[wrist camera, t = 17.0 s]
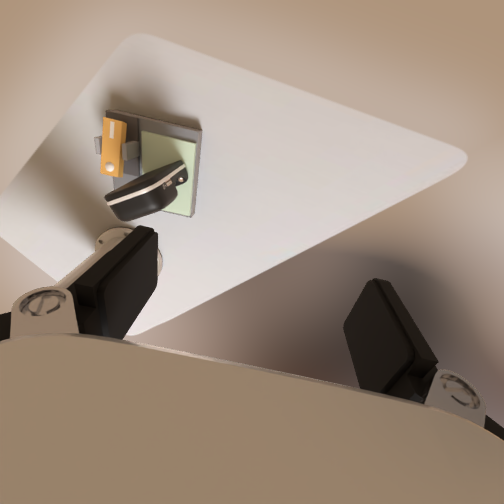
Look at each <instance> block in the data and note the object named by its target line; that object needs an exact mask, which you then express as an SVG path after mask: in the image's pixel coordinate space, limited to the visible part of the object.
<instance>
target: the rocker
mask: <svg viewBox="0 0 504 504" xmlns="http://www.w3.org/2000/svg"><path fill="white" fill-rule="evenodd" d="M126 128H127V123H125V122H122V121H118V120H114V119H110V118H106V117H103V134H102V153H101V172H100V173H101V174H106V175H110V176H114V177H123V167H124V160H123V155H122V144H123V143H125V141H126Z"/></svg>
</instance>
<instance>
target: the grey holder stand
mask: <svg viewBox="0 0 504 504" xmlns="http://www.w3.org/2000/svg"><path fill="white" fill-rule="evenodd" d="M106 118H110V119H114V120H118V121H122V122H125V123H127V128H126V141H125V143H123V144H122V155H123V160H124V167H123V177H114V176H113V181H114V190H115V189H117V188H119V187H121V186H123V185H125V184H126V183H128V182H130V181H132V180H134V179H136V178H138V177H139V176H141V175H143V174H145V173H147V172H150V171H152V170H155V169H158V168H160V167H163V166H165V165H168V164H171V163H173V162H176V161H179V160H182V161H183V163H184V164H185V166H186V167H185V168H186V170H187V173H188V180H187V182H185V183H184V184H181V185H179V186H176V189H177V191H178V196H177V197H176V199H175V200H174V201H173V202H172V203H171V204H169V205H168V206H167V207H165V208H164V209H162V210H160V211H163V212H168V213H172V214H177V215H181V216H186V217H190V218H191V217H192V216H193V215H194V213H195V204H196V193H197V183H198V172H199V161H200V150H201V140H202V130H198V129H194V128H190V127H186V126H181V125H177V124H173V123H169V122H165V121H160V120H156V119H152V118H148V117H144V116H139V115H135V114H131V113H127V112H123V111H118V110H107V111H106ZM94 141H95V149H96V154H100V155H101V153H102V136H99V137H94Z"/></svg>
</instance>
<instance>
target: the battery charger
mask: <svg viewBox="0 0 504 504" xmlns="http://www.w3.org/2000/svg"><path fill="white" fill-rule="evenodd" d="M185 167H186V166H185V164H184V163H183V161H182V160H179V161H176V162H173V163H171V164H168V165H165V166H163V167H160V168H158V169H155V170H152V171H150V172H147V173H145V174H143V175H141V176H139V177H138V178H136V179H134V180H132V181H130V182H128V183H126V184H125V185H123V186H121V187H119V188H117V189H115V190H114V191H112V192H110V193H108V194H107V195H105V200H106V201H107V202H106V203H107V204H108V206H110V207H111V209H112V210H113V212H114V214H115V215H116V216H117V218H118V219H120V220H121V221H131V220H134V219H137V218H140V217H143V216H146V215H149V214H152V213H155V212H158V211H160V210H162V209H164V208H165V207H167V206H168V205H169V204H171V203H172V202H173V201H174V200H175V199H176V197H177V196H178V191H177V189H176V186H179V185H181V184H184V183H185V182H187V180H188V173H187V170H186V168H185Z"/></svg>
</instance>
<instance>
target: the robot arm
mask: <svg viewBox="0 0 504 504" xmlns="http://www.w3.org/2000/svg"><path fill="white" fill-rule="evenodd" d="M161 270H162V258H161V255H160V252H159V250H158V233H157V232H154V229H153V228H150V227H145V226H141V225H139V226H137V227H136V228H135V229H134V230H132V229H128V228H121V227H119V228H112V229H109V230H107V231H106V232H104V233H103V234H102V235H100V236H99V237H98V239H97V241H96V243H95V252H94V253H93V254H92V255H91V256H89V257H88V258H87V259H86V260H84V261H83V262H82V263H81V264H80V265H78V266H77V267H76V268H75V269H74V270H72V271H71V272H70V273H69V274H68V275H66V276H65V277H64V278H63V279H62V280H60V281H59V282H58V283H57V284H56V285H54V286H50V287H42V288H38V289H35V290H32V291H30V292H28V293H25V294H24V295H22V296H21V297H19V298H18V299H17V300H16V301H15V303H14V304H13V307H12V312H8V313H4V314H1V315H0V504H504V428H503V427H501V426H500V425H499V424H497V423H496V422H495V421H493V420H492V419H491V418H490V417H488V416H487V415H486V405H485V402H484V399H483V398H482V396H481V395H480V393H479V392H478V390H477V389H475V387H474V386H473V385H472V384H471V383H470V382H468V381H467V380H466V379H464V378H463V377H461V376H460V375H458V374H456V373H454V372H451V371H449V370H443V369H442V370H437V368H436V366H435V365H436V364H437V363H438V360H437V358H436V357H435V355H434V353H433V352H432V350H431V348H430V347H429V345H428V344H427V342H426V340H425V339H424V337H423V336H422V334H421V332H420V331H419V329H418V327H417V326H416V324H415V322H414V321H413V319H412V317H411V316H410V314H409V313H408V311H407V309H406V308H405V306H404V305H403V303H402V301H401V300H400V298H399V296H398V295H397V293H396V291H395V290H394V288H393V287H392V285H391V283H390V282H388V281H386V280H381V279H377V278H374V279H373V280H372V281H371V280H370V281H368V282H367V284H366V285H365V287H364V289H363V291H362V293H361V294H360V296H359V298H358V300H357V301H356V303H355V305H354V307H353V308H352V310H351V312H350V314H349V315H348V317H347V319H346V320H345V323H344V327H343V328H344V333H345V336H346V340H347V344H348V347H349V351H350V354H351V358H352V361H353V365H354V368H355V372H356V375H357V379H358V382H359V386H360V389H358V388H354V387H349V386H345V385H340V384H334V383H331V382H326V381H321V380H317V379H312V378H307V377H303V376H298V375H293V374H288V373H284V372H279V371H274V370H270V369H265V368H260V367H255V366H251V365H246V364H241V363H236V362H231V361H226V360H222V359H217V358H212V357H207V356H202V355H197V354H192V353H187V352H183V351H178V350H173V349H168V348H163V347H158V346H152V345H147V344H142V343H137V342H131V341H126V340H122V339H123V338H124V336H125V335H126V333H127V332H128V330H129V329H130V327H131V326H132V324H133V322H134V321H135V319H136V318H137V316H138V315H139V313H140V312H141V310H142V309H143V307H144V306H145V304H146V303H147V301H148V299H149V298H150V296H151V295H152V293H153V292H154V290H155V288H156V286H157V281H158V276H159V274H160V272H161Z"/></svg>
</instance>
